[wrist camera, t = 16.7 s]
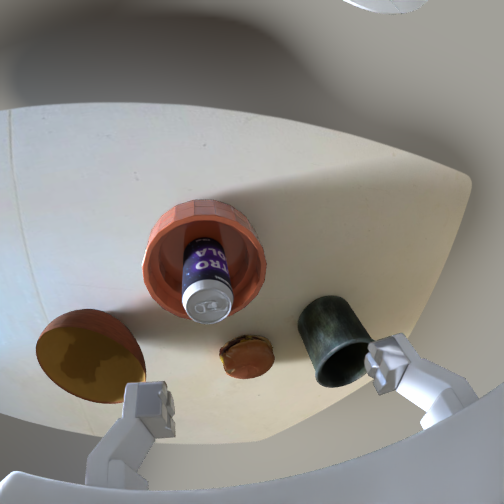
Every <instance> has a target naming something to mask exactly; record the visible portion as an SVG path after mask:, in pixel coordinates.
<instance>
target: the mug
mask: <svg viewBox="0 0 504 504" xmlns="http://www.w3.org/2000/svg"><path fill="white" fill-rule="evenodd" d="M298 331H299V333H300V336H301V338H302V340H303V343H304V345H305V347H306V350H307V352H308V354H309V357H310V359H311V361H312V364H313V366H314V369H315V371H316V372H315V377H316V380H317V382H318V383H319V384H320V385H322V386H324V387H329V388H334V387H340V386H344V385H347V384H350V383H352V382H354V381H356V380H358V379H359V378H361V377H362V376H363V375H365V374H366V373H367V372H366V369H365V364H364V359H365V355H366V354H367V353H368V352H369V350H368V345H369V343H370V342H373V341H375V340H373V339H371V337H370V336H369V334H368V333H367V331H366V330H365V328H364V326H363V325H362V323H361V322H360V320H359V319H358V317H357V316H356V314H355V313H354V311H353V310H352V308H351V307H350V305H349V304H348V302H347V301H346V300H345V299H343V298H341V297H337V296H326V297H322V298H319V299H317V300H315V301H314V302H312V303H311V304H309V305H308V306H307V307H306V308H305V309H304V311H303V312H302V314H301V316H300V318H299V321H298Z"/></svg>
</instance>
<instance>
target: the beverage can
mask: <svg viewBox="0 0 504 504" xmlns="http://www.w3.org/2000/svg"><path fill="white" fill-rule="evenodd" d="M233 301H234V295H233V290H232V286H231V281H230V276H229V271H228V266H227V261H226V256H225V252H224V249H223V247H222V245H221V244H220V243H219V242H218V241H216V240H214V239H212V238H208V237H201V238H197V239H194V240H193V241H191V242H190V243H189V244H188V245H187V246H186V248H185V250H184V253H183V276H182V304H183V306H184V308H185V310H186V312H187V314H188V315H189V317H190V318H191V319H193V320H194V321H196V322H198V323H201V324H214V323H218V322H220V321H222V320H223V319H225V318H226V317H227V316H228V314H229V313H230V311H231V307H232V304H233Z"/></svg>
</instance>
